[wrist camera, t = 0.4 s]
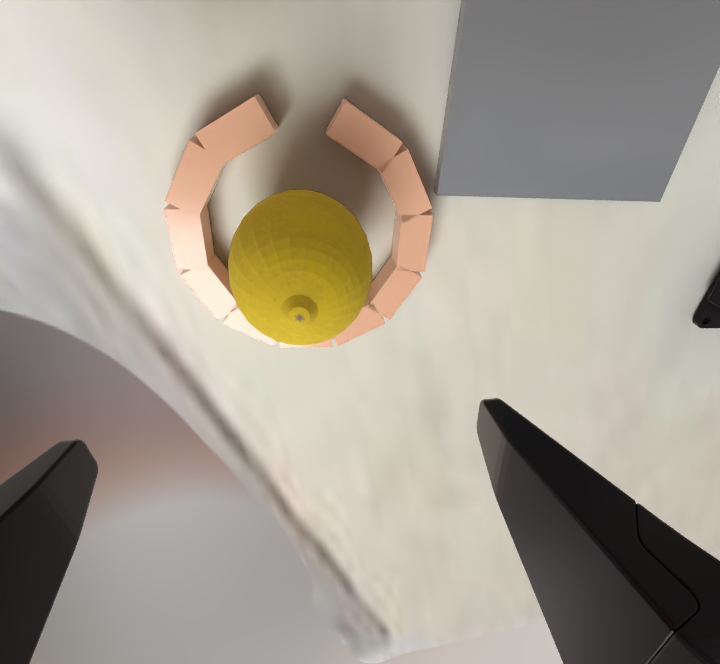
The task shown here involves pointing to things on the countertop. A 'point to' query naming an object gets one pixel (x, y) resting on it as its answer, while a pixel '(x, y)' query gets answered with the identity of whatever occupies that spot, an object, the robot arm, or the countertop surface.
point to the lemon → (300, 267)
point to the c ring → (248, 130)
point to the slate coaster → (574, 96)
